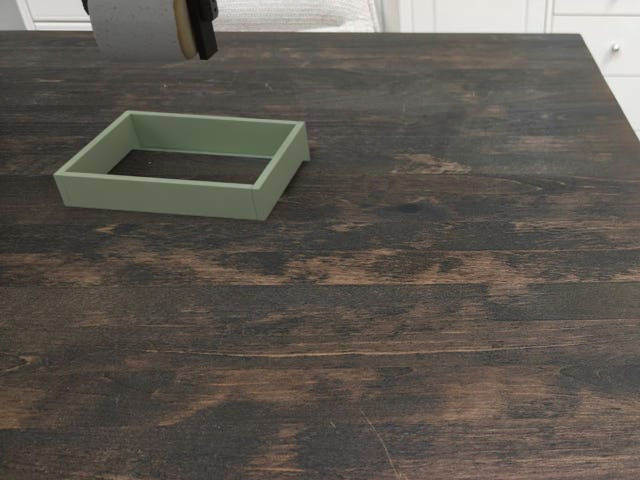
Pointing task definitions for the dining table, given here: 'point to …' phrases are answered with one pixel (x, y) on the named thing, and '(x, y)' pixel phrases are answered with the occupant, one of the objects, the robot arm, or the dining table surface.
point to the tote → (187, 137)
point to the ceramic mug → (143, 30)
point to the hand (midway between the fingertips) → (162, 52)
